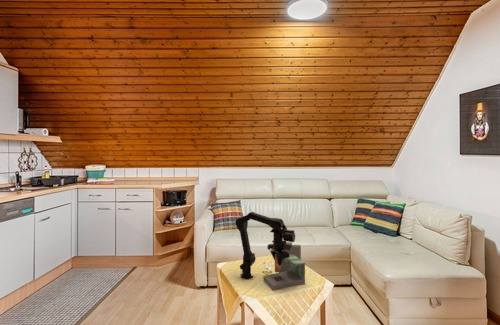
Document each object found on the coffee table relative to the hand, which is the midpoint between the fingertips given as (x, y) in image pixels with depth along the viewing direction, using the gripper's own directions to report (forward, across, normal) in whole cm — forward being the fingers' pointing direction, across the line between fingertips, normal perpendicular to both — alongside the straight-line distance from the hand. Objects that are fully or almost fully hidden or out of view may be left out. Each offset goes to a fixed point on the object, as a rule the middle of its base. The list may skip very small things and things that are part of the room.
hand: (278, 264), depth 176 cm
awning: (+9, 0, -11) cm, 15 cm away
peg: (+4, 0, 0) cm, 4 cm away
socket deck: (+12, 0, -4) cm, 13 cm away
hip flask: (+12, +12, -15) cm, 23 cm away
